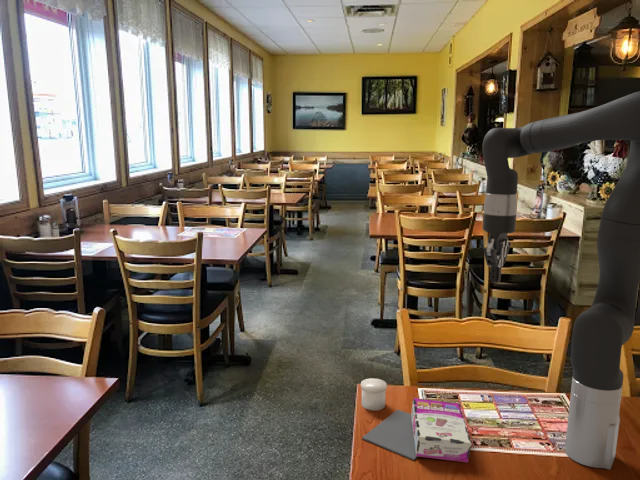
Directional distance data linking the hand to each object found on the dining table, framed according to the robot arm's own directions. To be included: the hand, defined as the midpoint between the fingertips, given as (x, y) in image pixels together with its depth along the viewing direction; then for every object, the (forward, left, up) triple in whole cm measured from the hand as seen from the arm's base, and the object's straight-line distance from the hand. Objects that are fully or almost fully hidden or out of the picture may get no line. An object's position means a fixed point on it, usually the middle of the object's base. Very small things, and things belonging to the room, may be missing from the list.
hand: (495, 281), depth 129 cm
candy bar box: (+6, +17, -29) cm, 34 cm away
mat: (+9, +27, -32) cm, 43 cm away
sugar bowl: (+22, +20, -32) cm, 44 cm away
